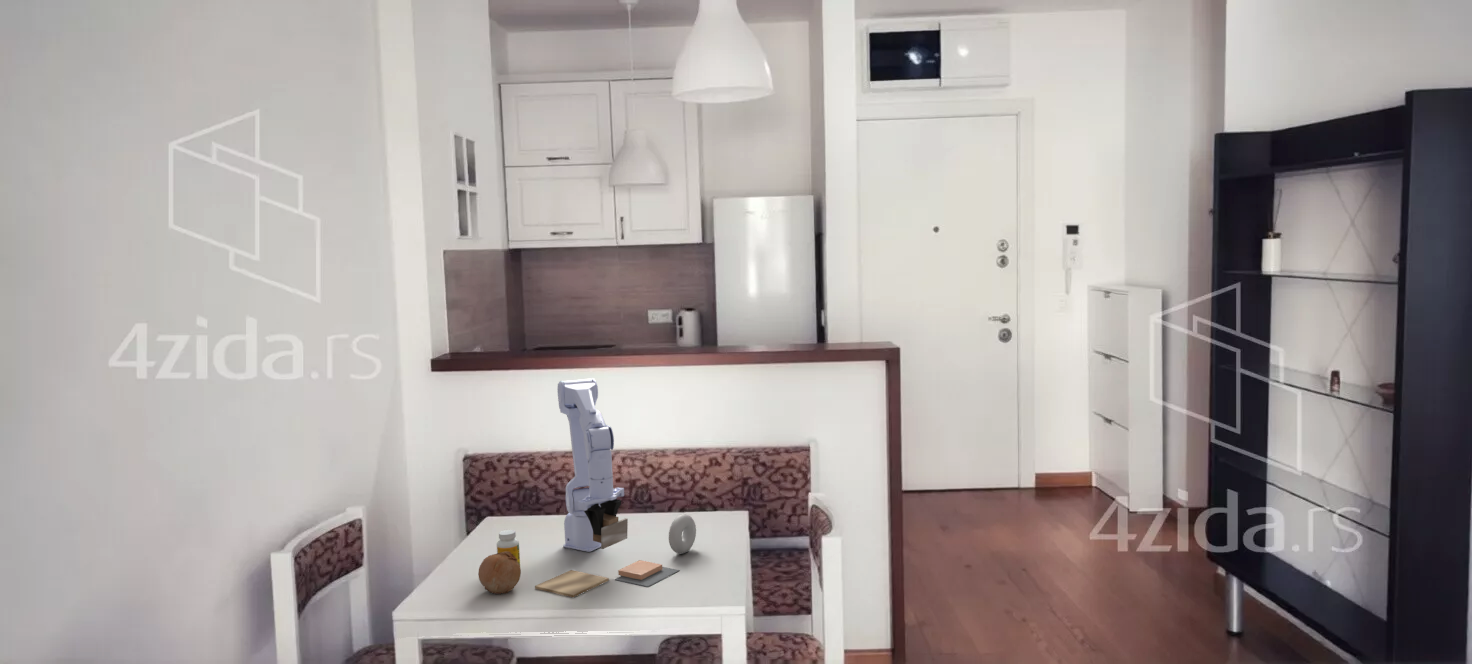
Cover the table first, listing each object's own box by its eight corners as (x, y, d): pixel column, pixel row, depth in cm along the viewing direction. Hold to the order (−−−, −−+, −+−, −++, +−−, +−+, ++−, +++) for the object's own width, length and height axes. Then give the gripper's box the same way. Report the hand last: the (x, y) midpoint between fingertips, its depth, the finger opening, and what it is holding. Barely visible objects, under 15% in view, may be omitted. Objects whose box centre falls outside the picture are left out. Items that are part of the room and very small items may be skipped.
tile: (618, 570, 218) (641, 575, 214) (639, 560, 225) (662, 564, 221) (618, 575, 218) (641, 580, 214) (639, 565, 225) (662, 570, 221)
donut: (678, 560, 229) (676, 520, 228) (666, 558, 230) (664, 519, 229) (699, 548, 237) (697, 510, 236) (688, 546, 239) (686, 508, 238)
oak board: (535, 588, 213) (534, 585, 213) (571, 572, 223) (571, 569, 222) (573, 597, 206) (573, 595, 206) (608, 580, 216) (608, 578, 216)
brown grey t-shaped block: (585, 543, 220) (585, 519, 219) (609, 533, 227) (609, 510, 227) (603, 549, 217) (603, 524, 216) (627, 538, 224) (627, 514, 224)
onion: (515, 598, 215) (531, 557, 217) (505, 603, 206) (522, 559, 207) (477, 584, 215) (494, 543, 217) (466, 588, 206) (483, 545, 208)
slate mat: (614, 579, 216) (614, 579, 216) (646, 564, 226) (646, 563, 226) (648, 587, 211) (648, 586, 211) (679, 570, 221) (679, 570, 221)
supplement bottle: (496, 568, 227) (493, 531, 226) (517, 565, 229) (515, 527, 229) (500, 575, 222) (498, 536, 221) (522, 571, 225) (520, 533, 224)
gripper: (593, 485, 213) (596, 542, 214) (632, 471, 225) (635, 526, 226) (570, 482, 217) (573, 538, 218) (610, 469, 229) (613, 522, 230)
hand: (603, 532), depth 222 cm, fingers closed on brown grey t-shaped block, 3 cm apart
